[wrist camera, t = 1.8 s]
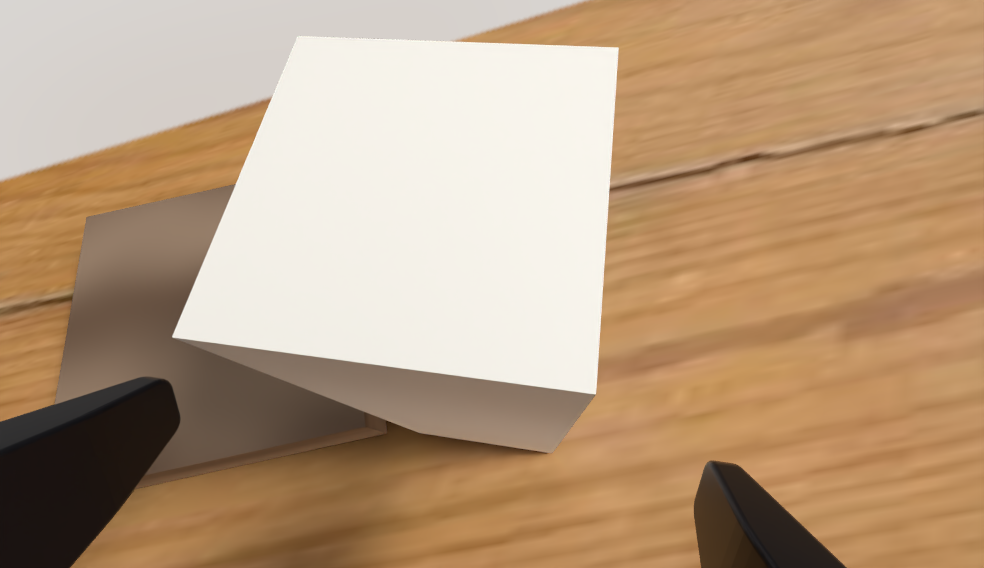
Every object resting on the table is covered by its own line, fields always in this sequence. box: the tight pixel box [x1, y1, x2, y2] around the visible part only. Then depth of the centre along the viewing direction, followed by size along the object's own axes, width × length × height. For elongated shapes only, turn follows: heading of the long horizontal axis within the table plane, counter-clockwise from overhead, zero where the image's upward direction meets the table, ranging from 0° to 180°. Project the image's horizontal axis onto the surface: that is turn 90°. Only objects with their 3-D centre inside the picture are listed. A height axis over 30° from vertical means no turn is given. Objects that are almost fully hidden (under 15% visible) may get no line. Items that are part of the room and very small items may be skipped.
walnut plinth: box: [55, 184, 387, 489], centre depth 19 cm, size 11×11×2 cm
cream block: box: [172, 36, 618, 453], centre depth 12 cm, size 5×5×13 cm
